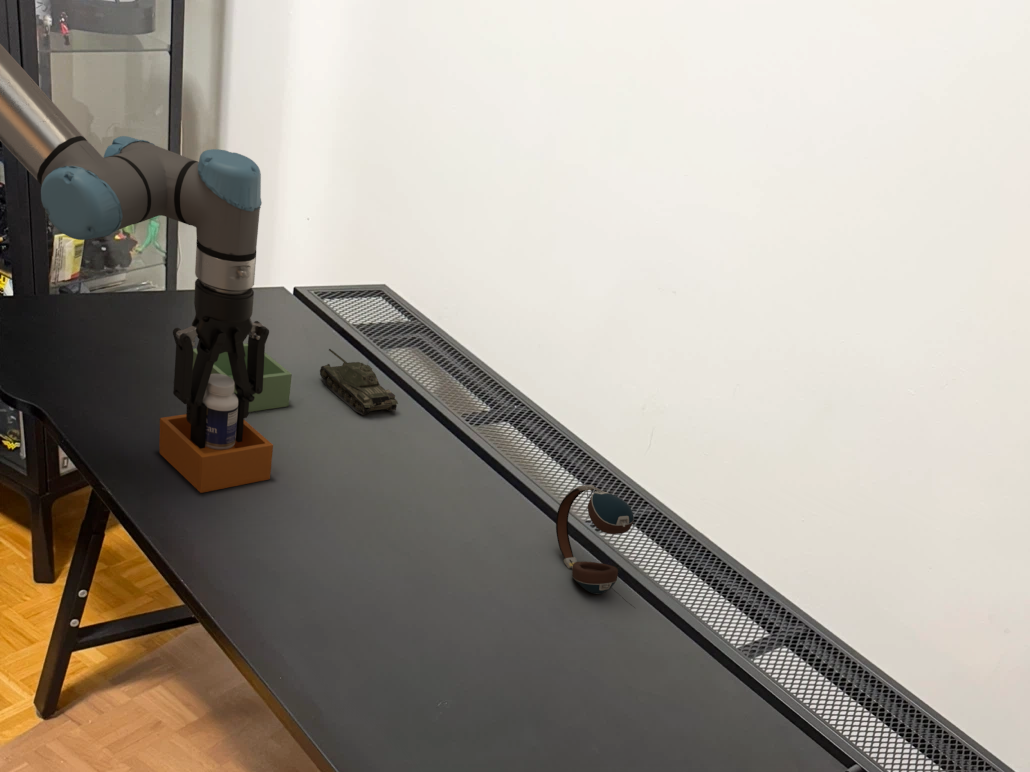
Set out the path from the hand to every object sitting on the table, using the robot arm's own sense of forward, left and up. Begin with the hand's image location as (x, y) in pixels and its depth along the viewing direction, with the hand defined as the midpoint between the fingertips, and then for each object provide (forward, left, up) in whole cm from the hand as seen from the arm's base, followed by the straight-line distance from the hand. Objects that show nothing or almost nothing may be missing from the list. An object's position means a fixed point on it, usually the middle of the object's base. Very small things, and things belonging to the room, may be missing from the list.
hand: (216, 440), depth 150 cm
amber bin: (0, 0, -4) cm, 4 cm away
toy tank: (-14, +36, -5) cm, 39 cm away
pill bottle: (0, 0, -1) cm, 1 cm away
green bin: (-19, +16, -4) cm, 25 cm away
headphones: (+48, +35, -5) cm, 59 cm away
